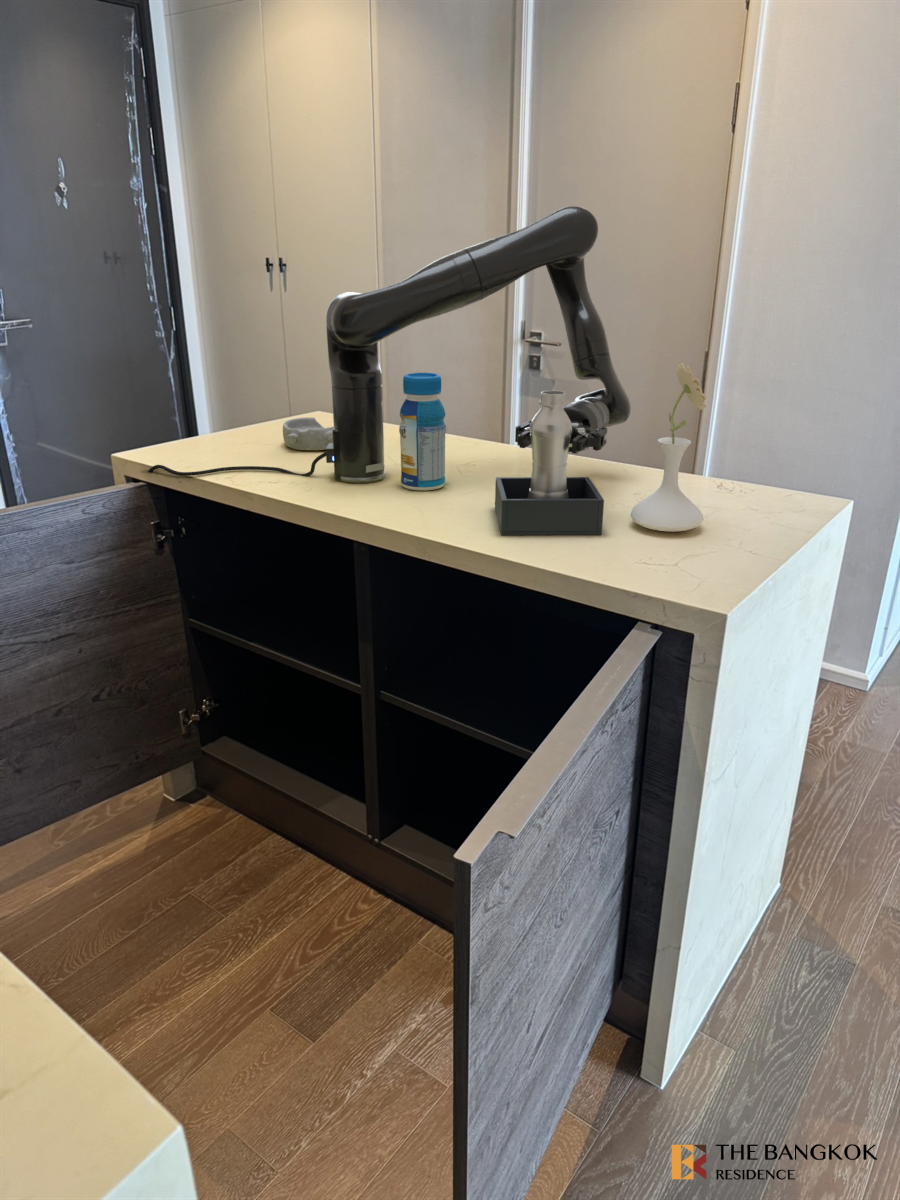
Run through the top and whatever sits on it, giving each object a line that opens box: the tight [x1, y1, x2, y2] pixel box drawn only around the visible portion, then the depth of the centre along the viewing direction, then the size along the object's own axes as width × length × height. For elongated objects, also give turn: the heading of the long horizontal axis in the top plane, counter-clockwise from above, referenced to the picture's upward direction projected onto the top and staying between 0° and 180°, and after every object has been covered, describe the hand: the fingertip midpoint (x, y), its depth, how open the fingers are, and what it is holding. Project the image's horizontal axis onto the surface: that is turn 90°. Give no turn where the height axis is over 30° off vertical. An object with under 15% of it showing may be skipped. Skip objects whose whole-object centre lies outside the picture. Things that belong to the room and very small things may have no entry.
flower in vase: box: [629, 362, 707, 533], centre depth 133 cm, size 13×11×25 cm
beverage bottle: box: [398, 372, 447, 492], centre depth 155 cm, size 8×8×20 cm
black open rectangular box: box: [494, 476, 605, 536], centre depth 138 cm, size 16×14×6 cm
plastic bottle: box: [528, 390, 572, 499], centre depth 135 cm, size 6×7×20 cm
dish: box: [282, 416, 334, 451], centre depth 188 cm, size 14×14×5 cm
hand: (547, 444), depth 134 cm, fingers open, 8 cm apart
